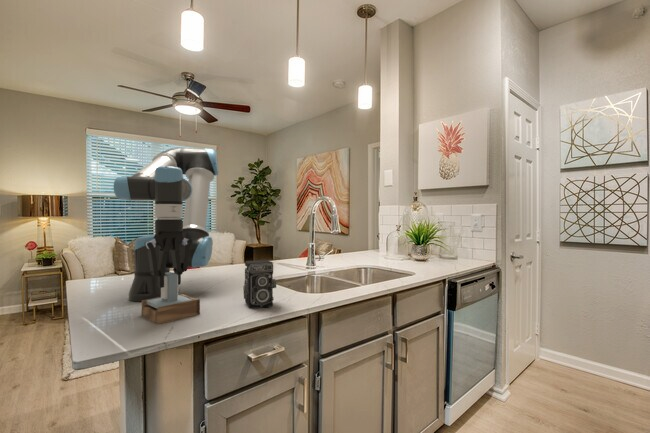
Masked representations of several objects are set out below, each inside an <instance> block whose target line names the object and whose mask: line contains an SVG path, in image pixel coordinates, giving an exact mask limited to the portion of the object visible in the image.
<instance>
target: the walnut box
mask: <svg viewBox="0 0 650 433" xmlns="http://www.w3.org/2000/svg"><path fill="white" fill-rule="evenodd" d="M178 295H181V296H184V297H187V298H189V299H192V300H191V301H186V302H182V303H177V304H172V305H167V306H163V307H158V308H154V307H152V306H150V305H148V304H146V301H147V300H152V299H157V298H161V297H157V298H152V299H147V300H142V301H141V316H142V317H144V318H146V319H148V320H150V321H151V322H154V324H157V325H161V324H166V323H169V322H174V321H177V320H181V319H184V318H185V319H186V318H189V317H194V316H197V315H200V314H201V299H200V298H196V297H192V296H190V295H187V294H183V293H182V292H180V293H179V292H178Z"/></svg>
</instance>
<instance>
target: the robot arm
mask: <svg viewBox="0 0 650 433" xmlns="http://www.w3.org/2000/svg"><path fill="white" fill-rule="evenodd" d="M217 156H218V155H217V152H216V151H215V150H214V149H213V148H207V147H206V148H199V147H198V148H195V147H193V148H192V147H174V148H170V149H166V150H164V151H162V152H159V153H157V154H156V155H155V156H153V158H152V160H151V162H149V163H148V164H146V165H145V166H144V167H142V168H141V169H140V170H137V172H135V173H134V174H133V175H129V176H127V175H124V176H117V177H116V178H115V179H114V182H113V193H114V195H115V197H116V199H117V198H118V200H123V201H124V200H125V201H127V200H128V201H154V217H155V221H154V233H155V234H152V235H151V234H150V235H143V236H139V237H137V238H136V239H135V240H134V245H133V246H134V248H133V254H134V255H133V260H134V261H133V266H134V270H133V271H134V275H133V276H134V278H133V280H132V283H131V286H130V288H129V291H128V300H130V301H132V302H142V300H147V299H152V298H157V297H161V298H163V299H168V287H167V276H165V273H167V272H170V269H173V273H176V274H177V297H178V294H179V285H181V283H182V282H181V281H182V274H183V273H185V272H187V271H188V268H193V269H194V268H201V267H202V268H203V267H206V266H207V265H208V264H209V262H210V261H211V258H212V252H213V244H214V242H213V238H212V236H210V234H209V232H208V230H206V227H207V226H206V225H207V217H208V205H209V195H210V188H211V186H210V185H211V182H213V181H214V180H215V177H217V176H219V164H218V157H217ZM183 175H185V177H186V178H187V179H188V180H187V179H185V178H184V176H183ZM183 201H185V206H184V204H183V203H184V202H183ZM183 206H184V208H183ZM183 209H184V210H183ZM156 218H157V219H156ZM182 218H183V219H182Z"/></svg>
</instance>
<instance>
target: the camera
mask: <svg viewBox="0 0 650 433" xmlns="http://www.w3.org/2000/svg"><path fill="white" fill-rule="evenodd" d="M244 265H245V268H244V281H243V282H244V283H243V284H244V285H243V286H242V287H243V289H242V290H243V300H244V303H245V304H246V306H247V308H248V309H255V308H256V309H257V308H263V307H269V308H270V307H272V306H273V305H274V303H273V302H274V296H273V293H274V292H273V291H274V290H273V289H276V288H277V280H276V278H273V276H274V275H273V274H274V262H273V261H271V260H266V259H264V260H248V261H247V260H246V261H245V262H244Z"/></svg>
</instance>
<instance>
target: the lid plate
mask: <svg viewBox="0 0 650 433" xmlns="http://www.w3.org/2000/svg"><path fill="white" fill-rule="evenodd" d="M165 276H167V287H168V299H163V298H157V299H152V300H147V301H146V304H148V305H150V306H152V307H154V308H158V307H163V306H167V305H172V304H177V303H182V302H186V301H191V300H192V299H189V298H187V297H184V296H181V295H178V297H177V274H176V273H174V272H167V273H165Z"/></svg>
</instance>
